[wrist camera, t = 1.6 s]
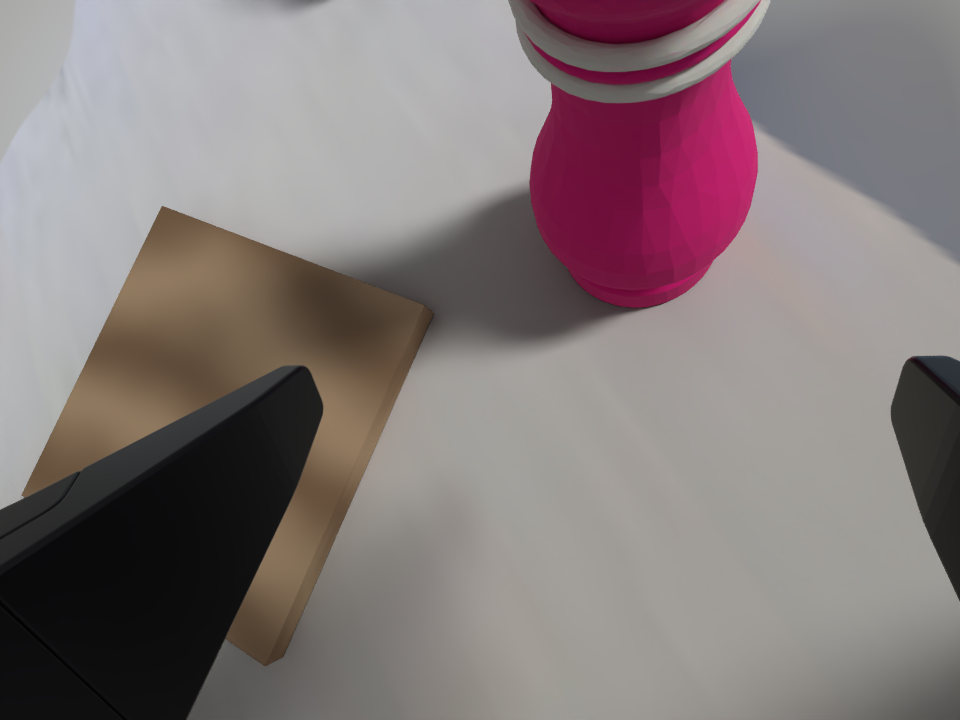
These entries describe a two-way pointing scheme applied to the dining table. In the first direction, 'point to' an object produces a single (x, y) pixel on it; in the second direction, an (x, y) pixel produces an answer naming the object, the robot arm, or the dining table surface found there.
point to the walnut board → (234, 363)
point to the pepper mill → (640, 139)
